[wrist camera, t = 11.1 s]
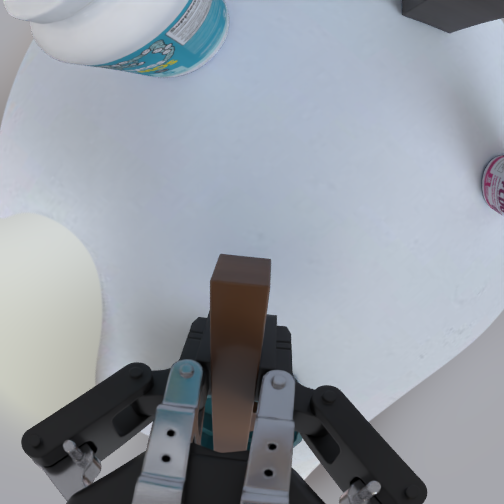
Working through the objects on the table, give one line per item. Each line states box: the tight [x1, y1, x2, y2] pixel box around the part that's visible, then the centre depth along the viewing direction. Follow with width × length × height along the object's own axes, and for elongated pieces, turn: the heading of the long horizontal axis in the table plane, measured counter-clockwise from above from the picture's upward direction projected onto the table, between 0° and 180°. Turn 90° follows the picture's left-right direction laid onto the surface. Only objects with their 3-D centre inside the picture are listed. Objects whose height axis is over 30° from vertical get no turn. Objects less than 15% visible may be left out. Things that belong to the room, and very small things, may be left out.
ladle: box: [210, 254, 271, 453], centre depth 19 cm, size 24×5×11 cm, turn 176°
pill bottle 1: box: [3, 0, 229, 78], centre depth 10 cm, size 8×7×14 cm
